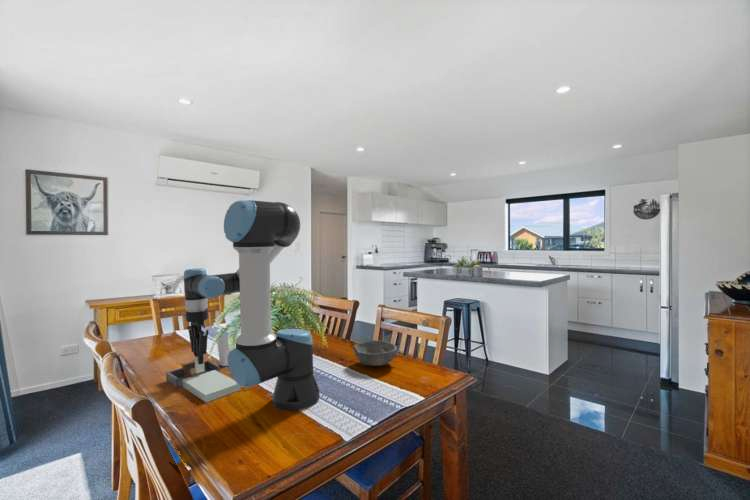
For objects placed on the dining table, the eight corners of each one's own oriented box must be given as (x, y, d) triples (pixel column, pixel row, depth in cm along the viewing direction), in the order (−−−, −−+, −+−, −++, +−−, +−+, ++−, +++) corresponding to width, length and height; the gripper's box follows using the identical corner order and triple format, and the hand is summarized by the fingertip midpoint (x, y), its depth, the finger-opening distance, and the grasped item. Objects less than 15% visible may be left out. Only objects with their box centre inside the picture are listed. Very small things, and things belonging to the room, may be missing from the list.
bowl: (404, 368, 142) (404, 348, 142) (363, 376, 136) (362, 355, 135) (386, 354, 159) (386, 337, 159) (349, 360, 152) (348, 342, 152)
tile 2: (205, 372, 136) (204, 364, 137) (192, 376, 132) (190, 368, 133) (201, 374, 139) (199, 367, 140) (187, 378, 135) (186, 371, 136)
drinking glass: (228, 367, 148) (227, 332, 147) (214, 366, 149) (212, 331, 148) (238, 361, 154) (236, 327, 154) (224, 361, 156) (222, 327, 155)
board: (240, 390, 126) (240, 383, 126) (206, 402, 117) (205, 395, 117) (215, 376, 139) (214, 369, 139) (182, 386, 130) (182, 379, 130)
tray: (220, 374, 141) (219, 365, 140) (176, 388, 129) (176, 378, 128) (208, 368, 147) (208, 360, 147) (166, 381, 135) (166, 372, 135)
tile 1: (198, 361, 140) (195, 359, 142) (185, 364, 136) (181, 363, 138) (199, 373, 140) (195, 371, 142) (185, 377, 137) (182, 375, 139)
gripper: (214, 310, 131) (217, 372, 132) (199, 306, 140) (202, 364, 141) (193, 313, 126) (196, 379, 127) (179, 309, 134) (182, 370, 135)
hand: (199, 371), depth 134 cm, fingers closed
